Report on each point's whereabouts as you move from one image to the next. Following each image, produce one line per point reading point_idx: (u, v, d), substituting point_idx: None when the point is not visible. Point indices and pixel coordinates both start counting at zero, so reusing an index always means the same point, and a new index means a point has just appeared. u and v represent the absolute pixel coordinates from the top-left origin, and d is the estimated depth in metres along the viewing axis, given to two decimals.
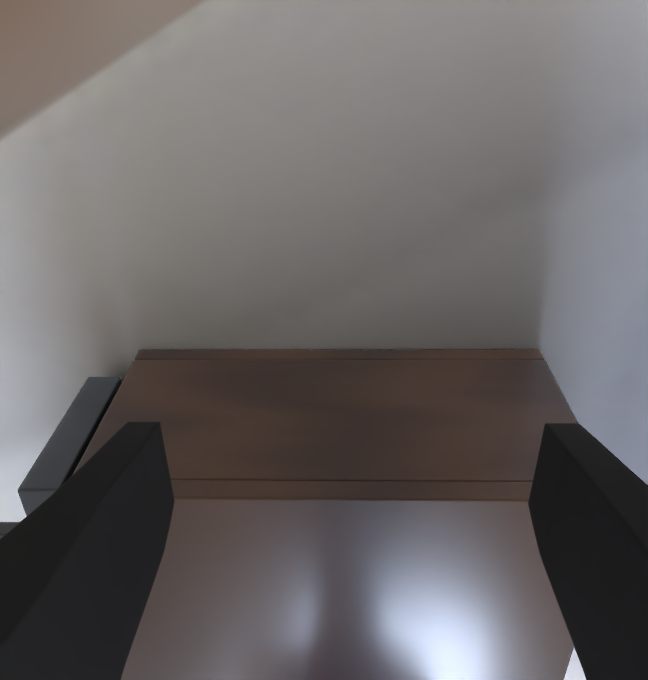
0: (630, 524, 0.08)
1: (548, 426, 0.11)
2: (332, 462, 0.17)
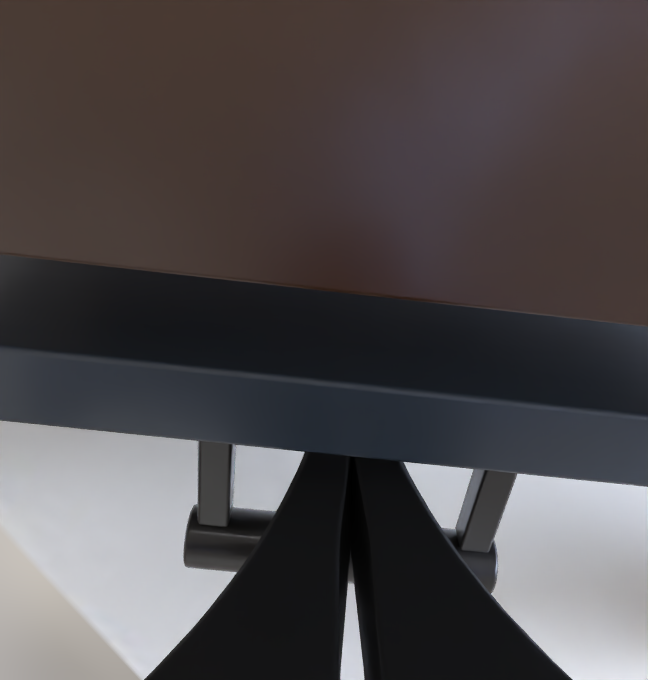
0: (373, 522, 0.09)
1: None
2: None
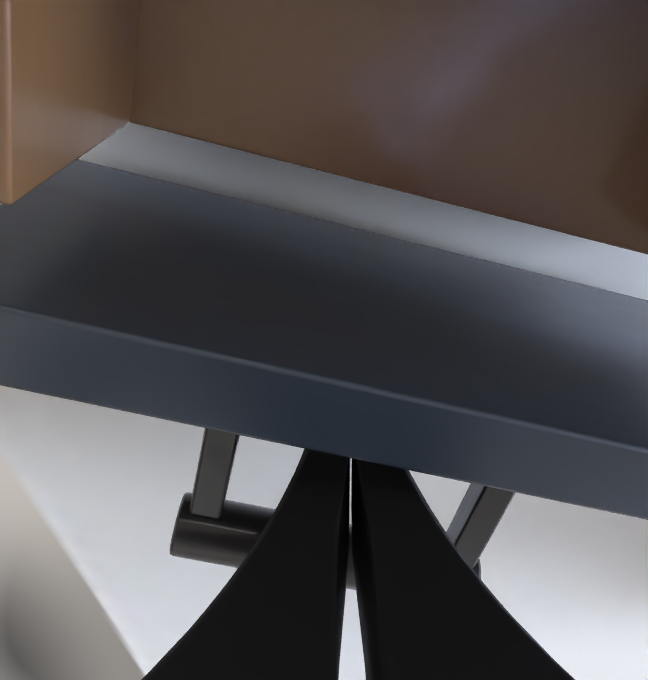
0: (374, 522, 0.09)
1: None
2: None
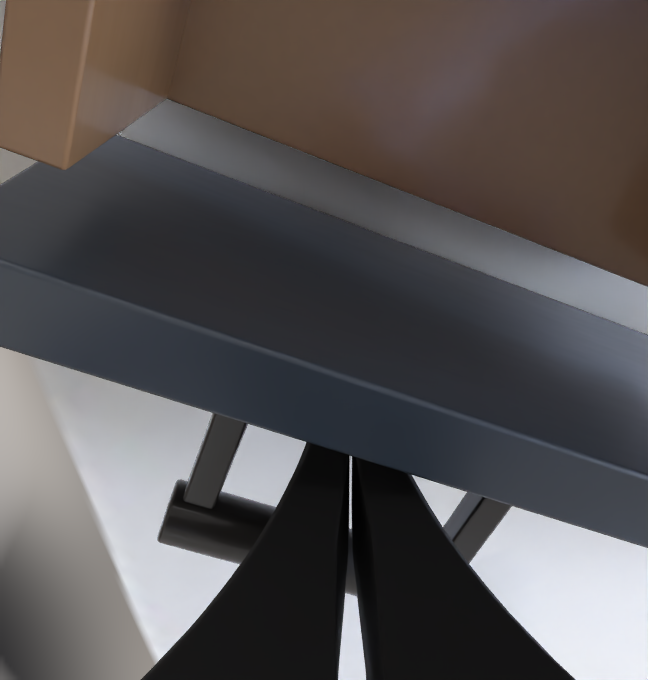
0: (375, 522, 0.09)
1: None
2: None
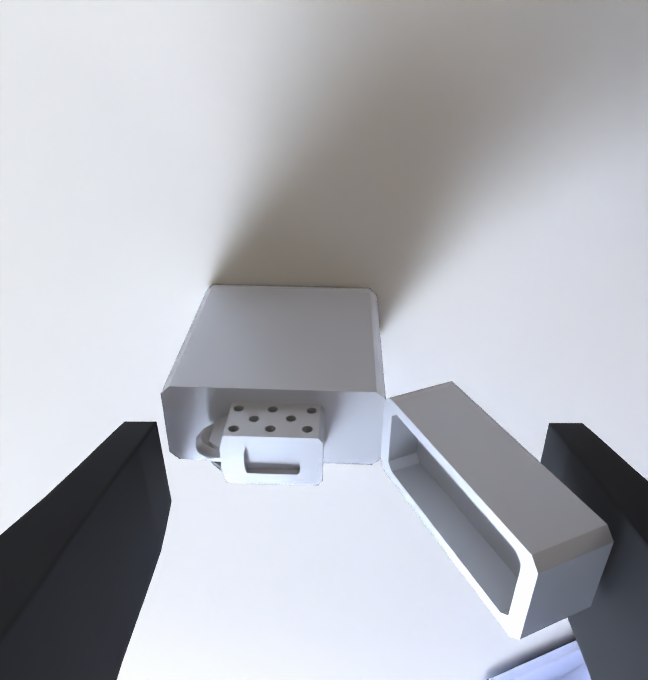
0: (635, 524, 0.08)
1: (552, 427, 0.11)
2: None
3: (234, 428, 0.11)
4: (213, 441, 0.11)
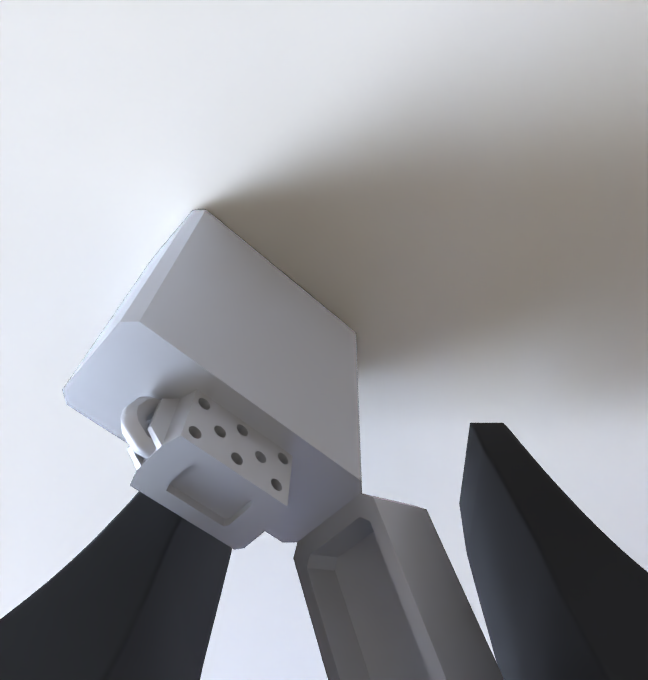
0: (531, 523, 0.08)
1: (473, 426, 0.11)
2: None
3: (191, 431, 0.08)
4: (156, 430, 0.07)
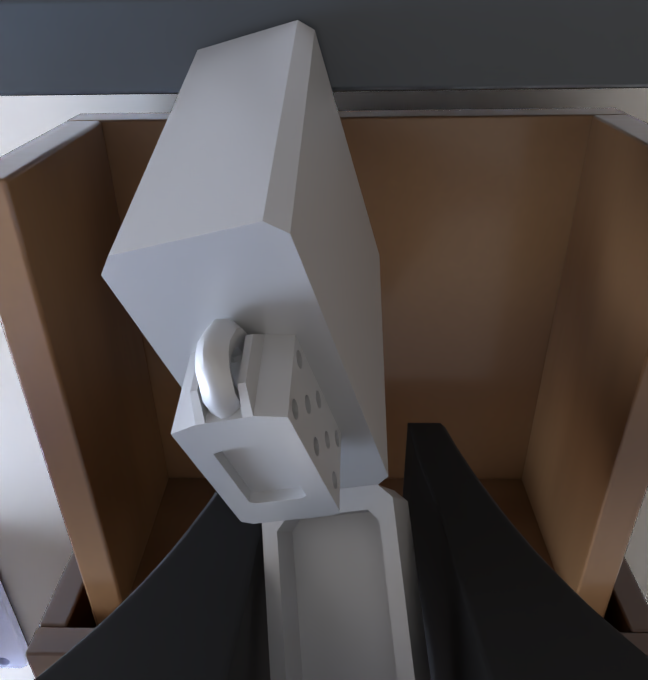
0: (447, 523, 0.08)
1: (409, 426, 0.11)
2: None
3: (286, 400, 0.06)
4: (250, 391, 0.05)
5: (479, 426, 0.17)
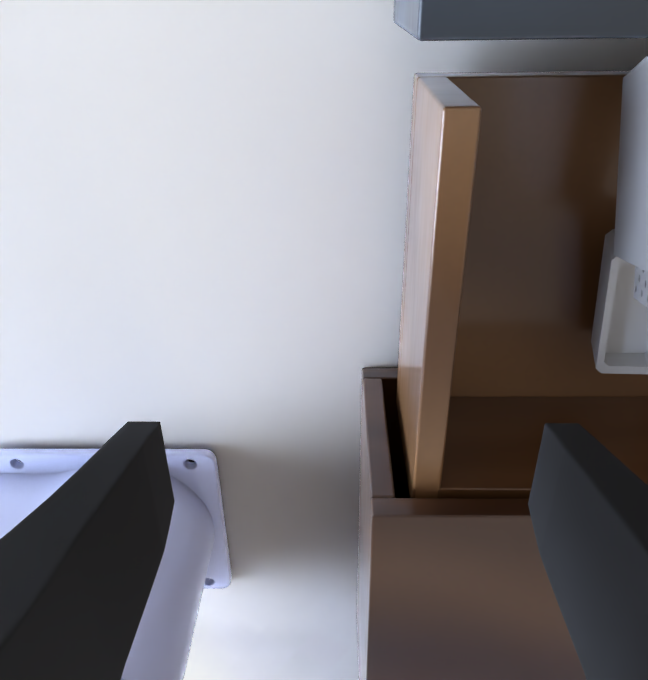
0: (630, 524, 0.08)
1: (549, 426, 0.11)
2: None
3: None
4: None
5: None
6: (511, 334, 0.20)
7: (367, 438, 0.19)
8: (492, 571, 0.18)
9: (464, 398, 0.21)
